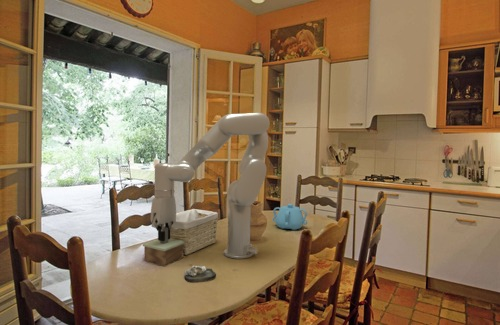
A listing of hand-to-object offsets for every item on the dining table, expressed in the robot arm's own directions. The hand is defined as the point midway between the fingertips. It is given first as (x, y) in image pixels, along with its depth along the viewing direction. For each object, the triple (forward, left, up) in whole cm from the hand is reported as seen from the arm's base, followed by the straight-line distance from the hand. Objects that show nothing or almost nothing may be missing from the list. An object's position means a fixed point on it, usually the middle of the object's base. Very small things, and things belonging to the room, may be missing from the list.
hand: (164, 239), depth 128 cm
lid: (0, 0, -3) cm, 3 cm away
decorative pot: (-24, -75, -8) cm, 79 cm away
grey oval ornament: (-23, +5, -9) cm, 25 cm away
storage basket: (+2, -18, -9) cm, 20 cm away
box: (0, 0, -8) cm, 8 cm away
